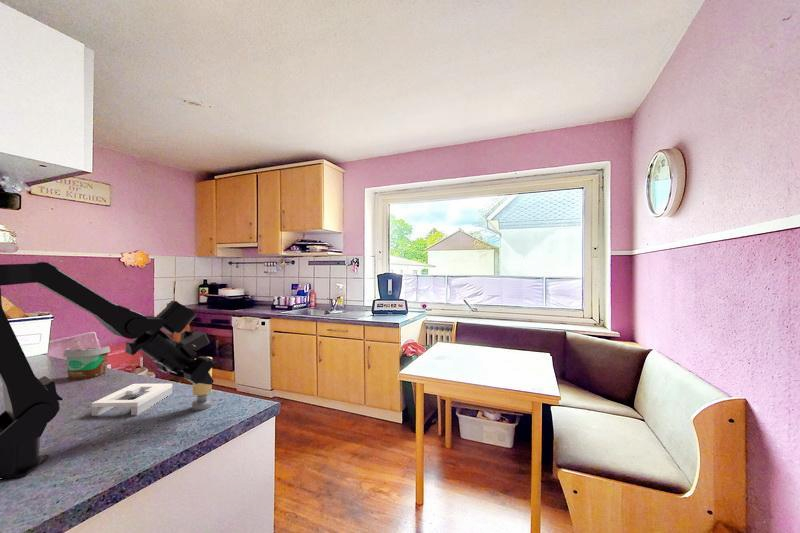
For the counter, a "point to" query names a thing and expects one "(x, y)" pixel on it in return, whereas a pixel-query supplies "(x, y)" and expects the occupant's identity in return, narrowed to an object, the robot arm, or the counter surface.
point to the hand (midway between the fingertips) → (207, 381)
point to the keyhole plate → (137, 405)
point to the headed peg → (202, 395)
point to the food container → (86, 362)
